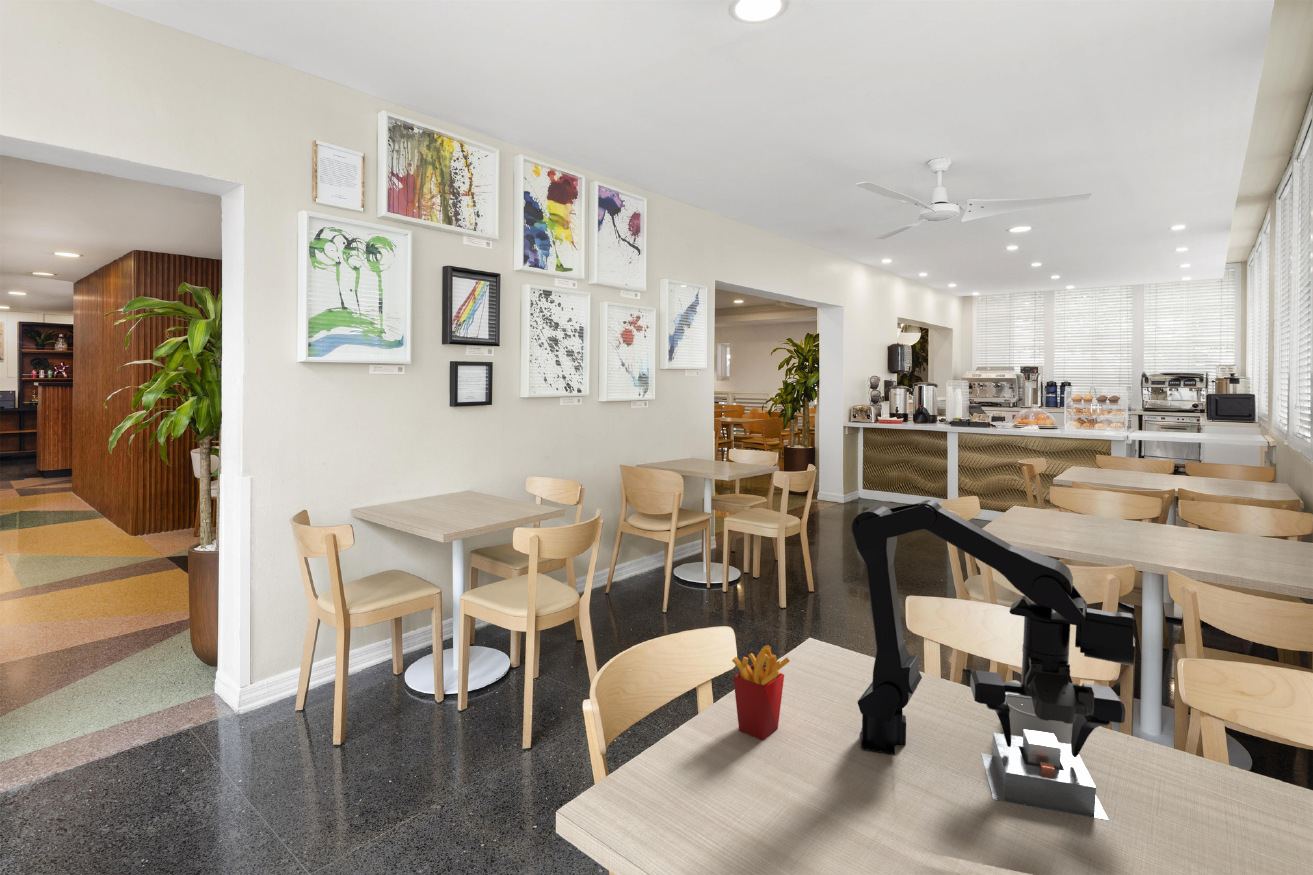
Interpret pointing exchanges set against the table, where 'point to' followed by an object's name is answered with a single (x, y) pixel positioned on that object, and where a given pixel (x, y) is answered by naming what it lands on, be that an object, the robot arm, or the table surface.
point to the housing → (1041, 780)
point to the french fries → (759, 693)
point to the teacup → (1034, 720)
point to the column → (1040, 748)
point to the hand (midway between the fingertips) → (1040, 750)
